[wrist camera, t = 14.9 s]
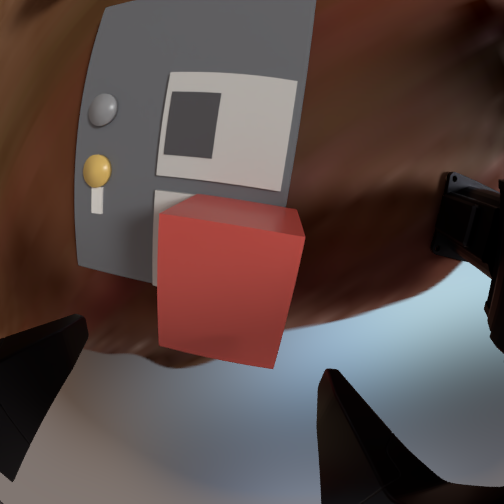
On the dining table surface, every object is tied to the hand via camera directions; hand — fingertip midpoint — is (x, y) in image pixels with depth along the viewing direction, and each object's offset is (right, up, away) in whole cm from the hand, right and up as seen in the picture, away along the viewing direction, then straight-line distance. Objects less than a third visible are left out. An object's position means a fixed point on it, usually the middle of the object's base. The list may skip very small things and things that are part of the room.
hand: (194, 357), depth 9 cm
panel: (-3, +12, +9) cm, 15 cm away
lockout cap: (+1, +3, +9) cm, 10 cm away
